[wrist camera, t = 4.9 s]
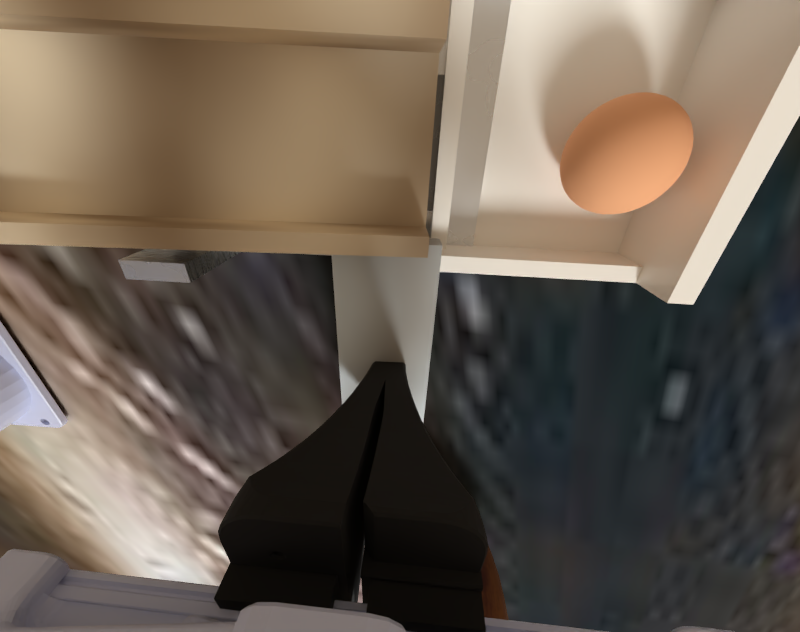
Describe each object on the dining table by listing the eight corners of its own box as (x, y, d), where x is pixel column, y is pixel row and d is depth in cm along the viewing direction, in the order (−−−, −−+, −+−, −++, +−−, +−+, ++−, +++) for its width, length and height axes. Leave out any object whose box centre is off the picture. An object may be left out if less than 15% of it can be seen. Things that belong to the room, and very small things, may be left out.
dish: (427, 253, 13) (430, 289, 10) (454, -48, 9) (473, -154, 6) (626, 264, 13) (693, 304, 10) (752, -40, 9) (945, -146, 5)
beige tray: (70, 415, 15) (5, 469, 12) (-221, -21, 8) (-518, -99, 5) (420, 420, 15) (425, 473, 13) (461, 19, 8) (490, -35, 6)
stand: (11, 233, 14) (-149, 268, 10) (-135, -23, 10) (-494, -130, 6) (468, 258, 13) (488, 306, 9) (507, -2, 9) (571, -107, 5)
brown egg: (539, 202, 12) (561, 220, 9) (564, 98, 10) (601, 81, 7) (632, 208, 11) (685, 229, 8) (673, 101, 10) (756, 83, 7)
